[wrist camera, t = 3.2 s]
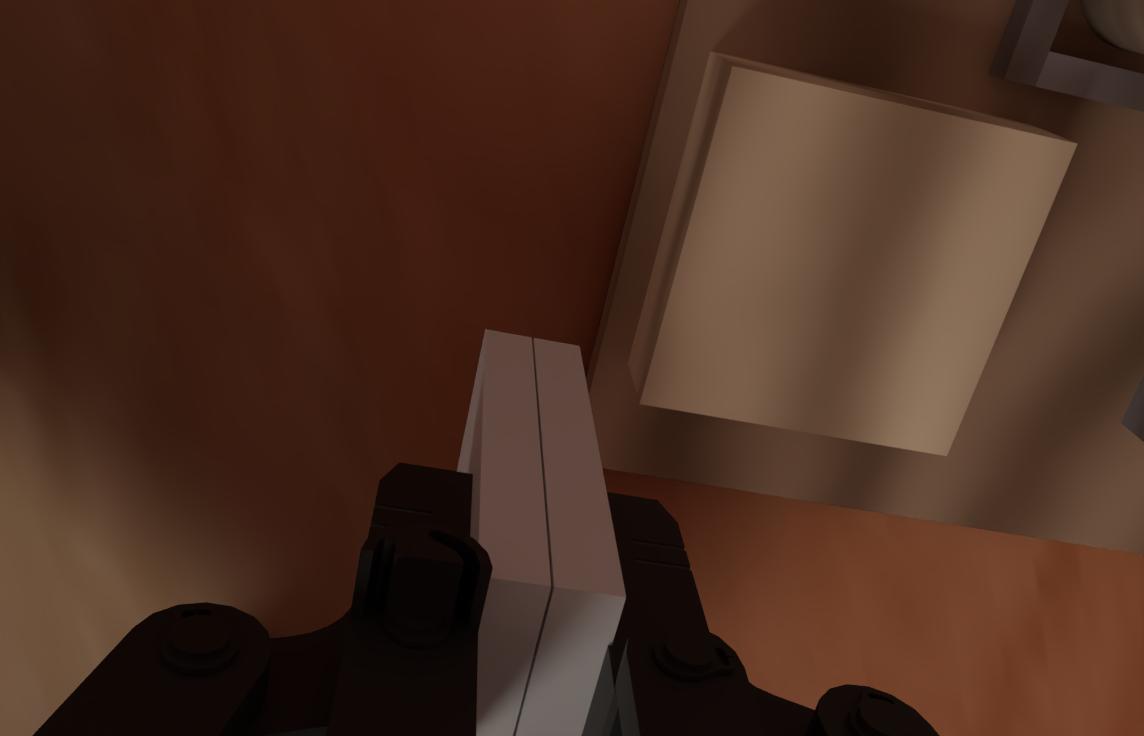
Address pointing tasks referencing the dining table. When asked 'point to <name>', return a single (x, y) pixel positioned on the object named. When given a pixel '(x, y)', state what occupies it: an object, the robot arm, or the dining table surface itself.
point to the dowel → (1117, 22)
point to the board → (1036, 314)
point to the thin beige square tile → (839, 256)
